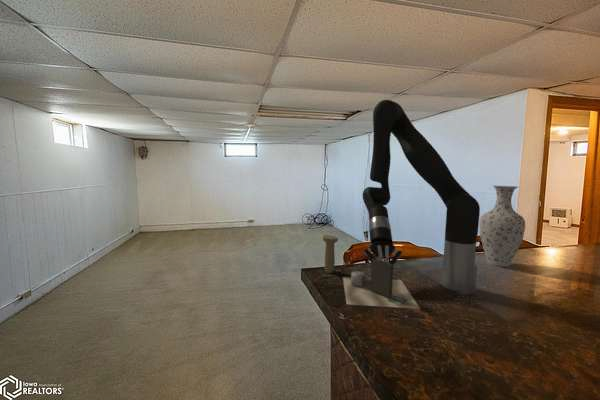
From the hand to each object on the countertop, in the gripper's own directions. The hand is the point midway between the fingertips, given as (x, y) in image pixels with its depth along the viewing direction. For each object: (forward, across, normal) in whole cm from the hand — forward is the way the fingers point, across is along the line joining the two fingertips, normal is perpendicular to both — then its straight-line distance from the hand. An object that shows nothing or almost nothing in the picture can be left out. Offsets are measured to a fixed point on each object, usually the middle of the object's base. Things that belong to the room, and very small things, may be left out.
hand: (385, 277), depth 87 cm
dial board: (+4, -2, +5) cm, 7 cm away
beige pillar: (-7, -18, +17) cm, 25 cm away
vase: (-22, +57, +33) cm, 69 cm away
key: (+3, -3, +4) cm, 6 cm away
